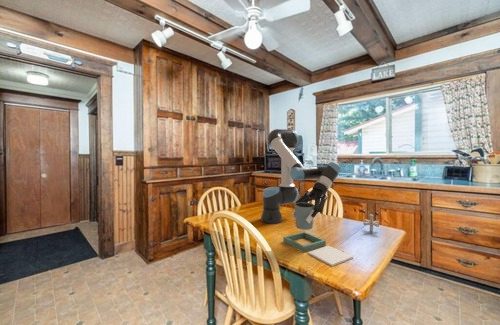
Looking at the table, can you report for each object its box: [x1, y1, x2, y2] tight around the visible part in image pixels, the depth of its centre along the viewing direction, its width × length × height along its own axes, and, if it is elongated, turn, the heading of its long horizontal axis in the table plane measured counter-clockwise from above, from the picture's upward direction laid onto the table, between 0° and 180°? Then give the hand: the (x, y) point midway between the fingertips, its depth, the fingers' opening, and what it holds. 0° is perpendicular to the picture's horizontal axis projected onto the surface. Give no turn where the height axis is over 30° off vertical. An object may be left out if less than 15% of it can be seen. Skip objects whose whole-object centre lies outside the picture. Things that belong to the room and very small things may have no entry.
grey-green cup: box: [294, 202, 315, 231], centre depth 118 cm, size 10×10×12 cm
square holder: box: [282, 231, 327, 253], centre depth 119 cm, size 15×15×2 cm
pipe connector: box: [362, 214, 380, 232], centre depth 135 cm, size 10×10×10 cm
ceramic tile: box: [307, 245, 354, 267], centre depth 104 cm, size 14×14×1 cm
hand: (300, 218), depth 116 cm, fingers closed on grey-green cup, 10 cm apart
